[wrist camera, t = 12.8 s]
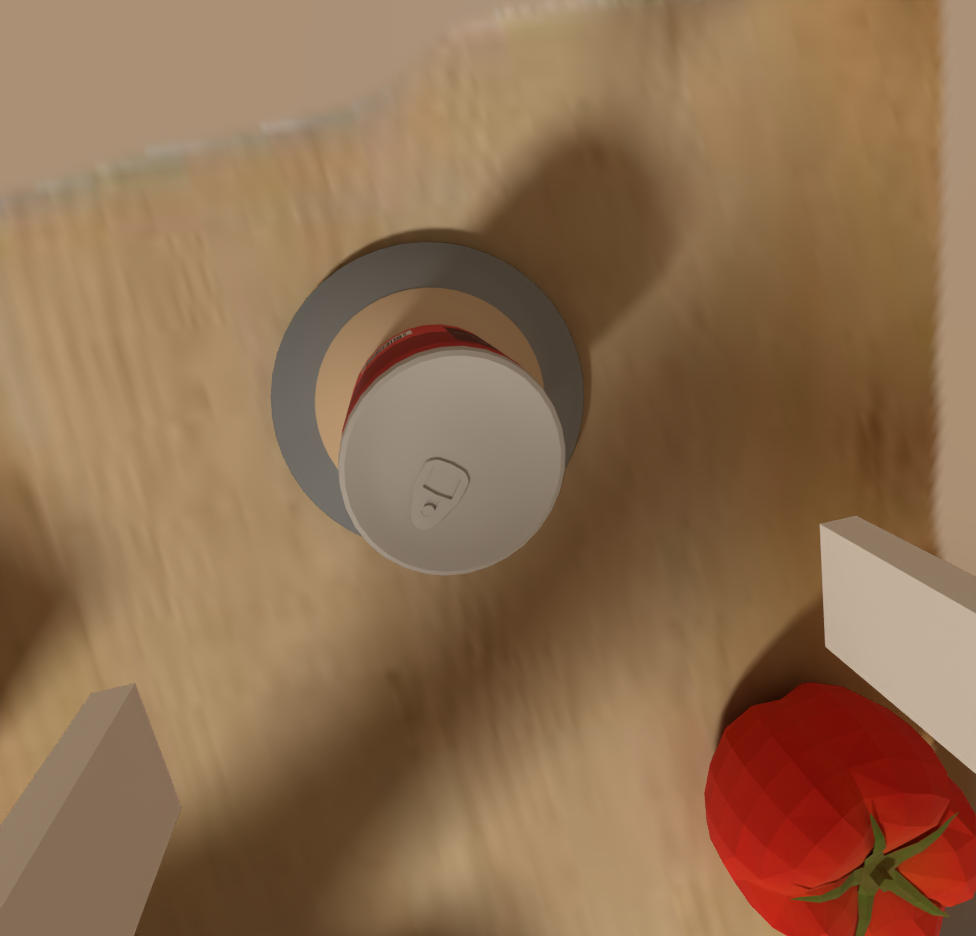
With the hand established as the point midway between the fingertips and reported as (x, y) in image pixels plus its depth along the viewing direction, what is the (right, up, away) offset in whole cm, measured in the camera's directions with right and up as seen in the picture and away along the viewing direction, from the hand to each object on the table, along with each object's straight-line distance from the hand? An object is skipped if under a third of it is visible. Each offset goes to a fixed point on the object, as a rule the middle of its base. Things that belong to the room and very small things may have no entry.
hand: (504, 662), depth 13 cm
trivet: (-3, +7, +21) cm, 23 cm away
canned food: (-3, +7, +21) cm, 22 cm away
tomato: (+18, -14, +31) cm, 38 cm away
